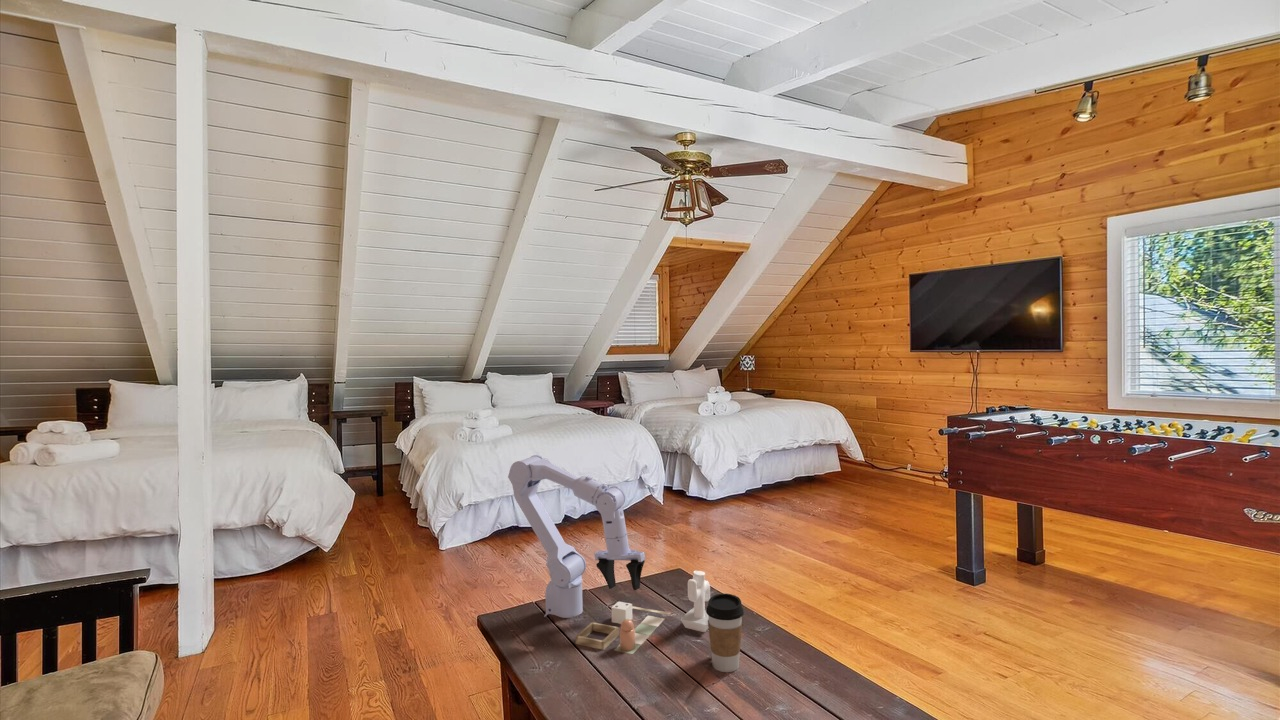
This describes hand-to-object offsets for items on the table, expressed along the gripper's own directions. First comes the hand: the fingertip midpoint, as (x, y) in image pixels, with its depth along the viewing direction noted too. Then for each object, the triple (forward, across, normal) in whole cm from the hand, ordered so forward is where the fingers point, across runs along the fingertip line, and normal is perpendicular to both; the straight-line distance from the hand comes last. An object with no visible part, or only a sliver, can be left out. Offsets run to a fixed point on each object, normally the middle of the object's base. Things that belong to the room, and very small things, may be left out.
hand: (624, 588), depth 168 cm
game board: (+10, -1, +4) cm, 11 cm away
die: (+8, +2, 0) cm, 9 cm away
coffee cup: (+14, -29, +6) cm, 33 cm away
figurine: (+13, -16, -7) cm, 22 cm away
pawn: (+9, -7, +12) cm, 17 cm away
